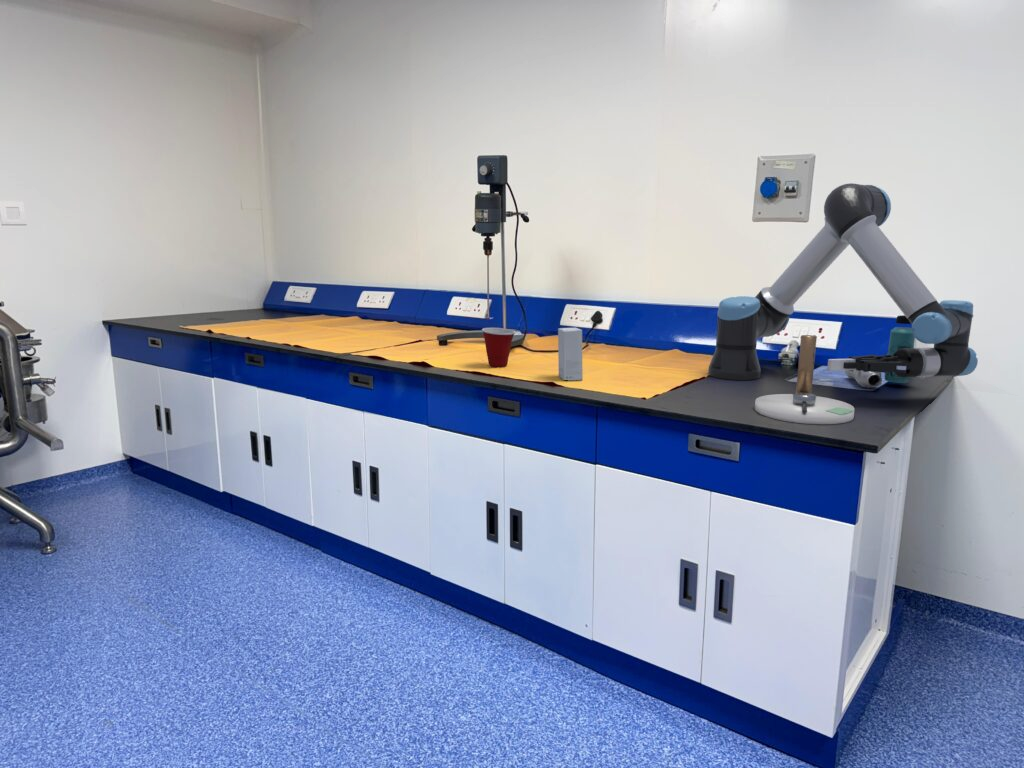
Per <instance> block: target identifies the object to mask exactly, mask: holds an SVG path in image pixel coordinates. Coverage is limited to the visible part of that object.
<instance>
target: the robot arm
mask: <svg viewBox="0 0 1024 768" xmlns="http://www.w3.org/2000/svg"><path fill="white" fill-rule="evenodd" d="M891 210H892V203H891V199H890V197H889V195H888V193H887V192H886V191H885V190H884V189H882V188H880V187H877V185H874V184H858V183H851V182H850V183H844V184H842V185H841V184H840V185H839V186H836V188H834V189H833V190H832V191H831V192H830V193H829V194H828V195H827V196H826V199H825V201H824V204H823V213H824V226H823V227H822V228H821V229H820V230H819V232H817V234H816V235H815V236H814V237H813V238H812V239H811V240H810V241H809V242H808V244H807V245H806V246H805V247H804V249H803V250H801V252H800V253H799V254H798V255H797V257H796V258H795V259H794V260H793V261H792V262H791V264H790V265H789V266H788V267H787V268H786V269H785V270H784V271H783V272H782V274H780V276H779V277H778V278H776V280H775V282H774V283H773V284H772V285H771V286H765V287H762V288H761V290H760V291H759V292H758V293H757V294H756V296H754V297H753V296H748V295H747V296H746V295H745V296H739V295H738V296H736V297H735V296H731V297H727V298H724V299H722V300H721V301H720V302H719V304H718V309H717V313H716V314H717V321H716V322H717V324H716V337H715V338H716V340H715V341H716V342H715V351H714V352H713V355H712V357H711V359H710V363H709V364H708V365H709V366H708V373H707V374H708V375H709V376H710V377H714V378H718V379H723V380H732V381H733V380H734V381H735V380H736V381H751V380H756V379H757V380H758V379H760V377H761V373H762V372H761V371H762V370H761V364H760V362H759V358H758V354H757V343H758V339H760V338H768V337H773V336H775V335H777V334H780V333H781V332H782V331H783V330H784V329H785V328H786V327H787V326H788V324H789V320H790V316H792V314H793V313H794V311H795V309H794V305H795V304H796V303H797V302H798V300H799V299H801V297H802V296H803V295H804V294H805V293H806V292H807V290H808V289H810V287H811V286H813V284H814V283H815V282H816V281H818V279H819V278H820V276H822V275H823V274H824V272H825V271H826V270H827V269H828V268H829V267H830V266H831V265H832V264H833V263H834V261H836V259H838V257H839V256H840V255H841V254H842V253H843V252H844V251H846V249H847V248H848V246H849V245H850V246H851V248H852V249H853V251H854V252H855V253H856V254H857V256H858V257H859V258H860V259H861V261H862V262H863V264H865V266H866V267H867V268H868V270H869V271H870V273H871V274H872V275H873V276H874V277H875V278H876V280H877V281H878V283H879V284H880V285H881V286H882V288H883V289H884V290H885V292H886V293H887V294H888V295H889V297H890V298H891V300H892V301H893V302H894V303H895V304H896V305H897V307H898V308H899V310H900V311H901V313H903V315H905V316H906V317H907V319H908V320H909V321H910V323H911V324H910V325H911V328H912V333H913V336H914V337H915V340H917V341H918V342H920V343H922V344H926V345H927V344H928V345H930V344H931V345H933V347H914V348H901V349H899V350H897V351H896V352H895V353H894V355H893V356H892V355H887V354H883V355H877V354H874V353H873V354H869V355H858V356H848V357H847V358H829V359H827V369H826V370H827V371H829V372H835V371H837V372H838V371H839V372H840V371H844V370H849V371H853V370H855V369H856V370H857V371H860V370H863V371H864V372H881V373H885V372H894V373H895V374H896V375H897V376H898V377H901V378H910V379H911V378H920V379H921V380H926V378H929V377H930V378H932V377H933V378H935V377H941V378H943V377H952V378H955V377H961V376H963V377H964V376H968V375H970V374H972V373H973V372H974V371H975V370H976V369H977V367H978V358H977V353H976V351H975V350H974V349H973V348H971V347H969V342H970V336H971V329H972V322H973V318H974V303H972V302H971V301H967V300H958V299H957V300H955V299H949V300H948V299H945V300H941V301H940V302H938V300H937V298H936V297H935V296H934V295H933V293H932V292H931V291H930V290H929V289H928V288H927V286H926V285H925V284H924V282H923V281H922V279H920V277H919V275H917V273H916V271H914V270H913V268H912V267H911V266H910V265H909V263H908V262H907V261H906V259H905V258H904V257H903V255H901V253H900V252H899V251H898V250H897V248H896V247H895V246H894V244H893V243H892V242H891V241H890V240H889V238H888V237H887V236H886V234H885V233H884V231H882V229H881V228H880V227H881V226H882V225H883V224H884V223H885V222H886V221H887V219H888V218H889V217H890V214H891Z"/></svg>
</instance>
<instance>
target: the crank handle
mask: <svg viewBox="0 0 1024 768" xmlns="http://www.w3.org/2000/svg"><path fill="white" fill-rule="evenodd" d="M817 340H818V338H817V336H816V335H810V334H803V335H801V336H800V342H799V357H798V364H797V365H798V366H797V375H796V376H797V377H796V388H795V389H796V390H795V392H794V393H792V394H793V403H795V404H798V405H802V412H807V405H815V401H816V396H817V395H816V394H814V393H812V392H813V379H814V371H815V369H814V368H815V359H816V348H817Z"/></svg>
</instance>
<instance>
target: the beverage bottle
mask: <svg viewBox="0 0 1024 768" xmlns="http://www.w3.org/2000/svg"><path fill="white" fill-rule="evenodd" d="M895 323H896V324H899V325H900V324H903V325H912V324H911V323H910V321H909V320H908V319H907V317H906V316H905V315H904V314H903V315H897V316H896V320H895ZM915 340H916V338H915V337H914V336H913V333H912V327H905V326H904V327H903V326H895V327H894V328H892V329H891V330H890V335H889V342H888V348H887V349H888V350H887V352H886V355H892V356H893V355H894V353H895V352H896V351H897V350H899V349H901V348H915V347H914V345H915ZM883 373H884V376H883V377H884V381H886V382H888V383H889V382H890V383H894V384H895V383H897V384H898V383H899V384H904V383H905V384H907V383H909V382H910V380H911V378H901V377H898V376H897V375H896V374H895V373H894V372H883Z"/></svg>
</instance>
